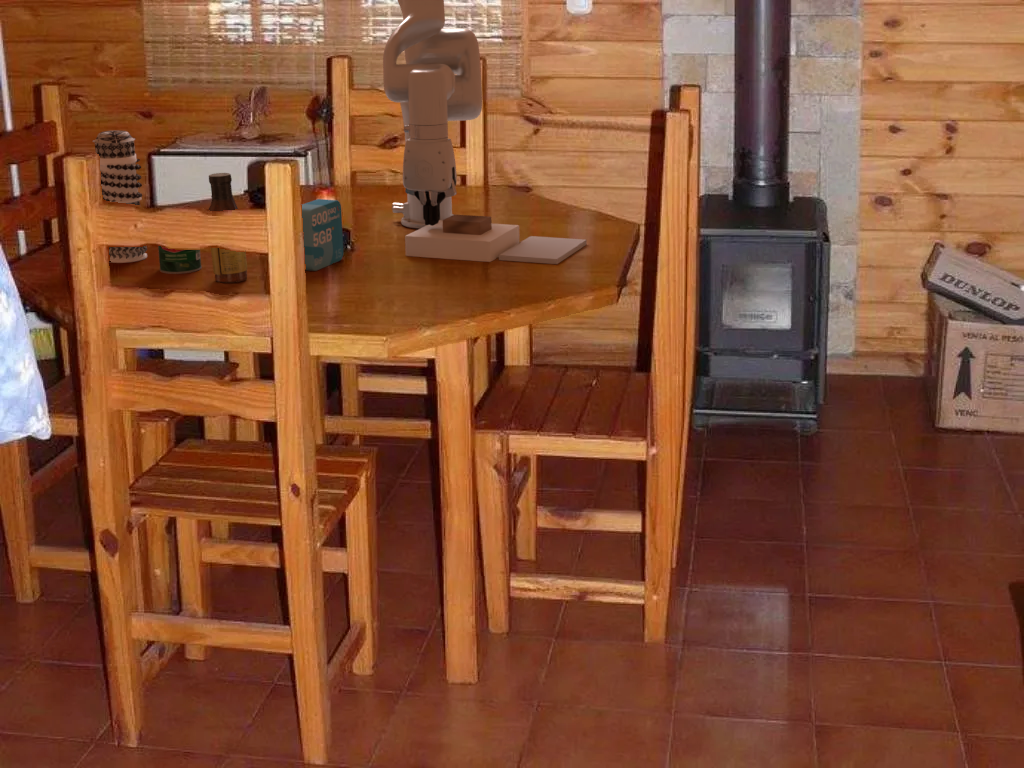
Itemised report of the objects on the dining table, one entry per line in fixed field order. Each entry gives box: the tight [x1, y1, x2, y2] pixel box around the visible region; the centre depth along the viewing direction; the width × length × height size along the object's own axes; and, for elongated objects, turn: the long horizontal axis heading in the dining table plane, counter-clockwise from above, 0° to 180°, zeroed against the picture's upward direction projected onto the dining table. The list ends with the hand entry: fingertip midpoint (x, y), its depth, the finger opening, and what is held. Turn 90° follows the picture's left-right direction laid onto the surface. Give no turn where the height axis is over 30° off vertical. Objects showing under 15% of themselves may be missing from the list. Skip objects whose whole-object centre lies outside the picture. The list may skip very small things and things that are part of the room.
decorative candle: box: [92, 130, 148, 264], centre depth 292 cm, size 9×9×25 cm
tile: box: [443, 213, 493, 235], centre depth 296 cm, size 8×6×2 cm
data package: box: [301, 198, 344, 272], centre depth 286 cm, size 12×4×12 cm, turn 156°
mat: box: [498, 235, 587, 265], centre depth 295 cm, size 12×18×1 cm, turn 159°
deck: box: [404, 220, 520, 263], centre depth 297 cm, size 18×16×4 cm
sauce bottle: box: [208, 172, 248, 284], centre depth 274 cm, size 6×6×20 cm
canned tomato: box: [157, 245, 202, 275], centre depth 284 cm, size 8×8×11 cm
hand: (431, 223), depth 298 cm, fingers closed
